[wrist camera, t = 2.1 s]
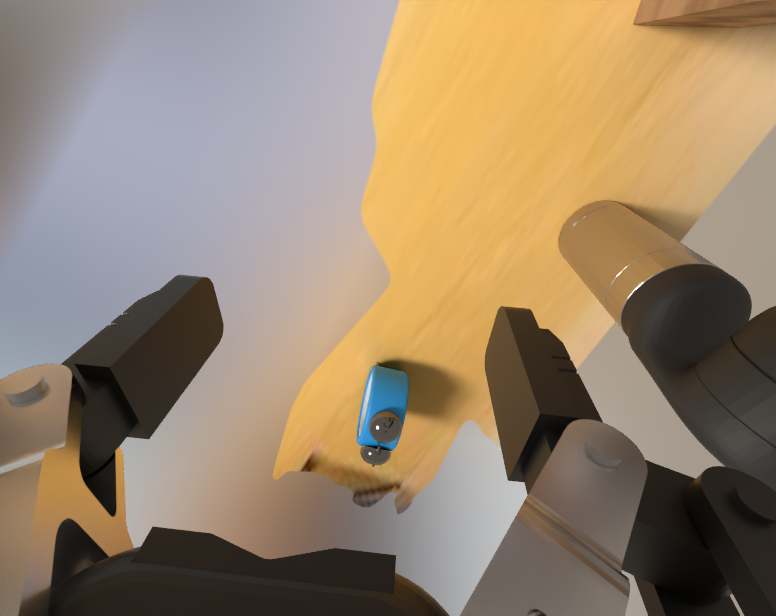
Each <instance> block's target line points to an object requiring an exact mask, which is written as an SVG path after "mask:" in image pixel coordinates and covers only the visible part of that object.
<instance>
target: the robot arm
mask: <svg viewBox="0 0 776 616" xmlns="http://www.w3.org/2000/svg"><path fill="white" fill-rule="evenodd" d="M559 249H560V252H561V254H562V255H563V257H564V258H565V259H566V261H567V262H568V263H569V264H570V266H571V267H572V268H573V269H574V271H575V272H576V273H577V274H578V276H579V277H580V278H581V279H582V281H583V282H584V283H585V284H586V286H587V287H588V288H589V289H590V290H591V292H592V293H593V294H594V295H595V297H596V298H597V299H598V300H599V302H600V303H601V304H602V305H603V307H604V308H605V309H606V310H607V311H608V313H609V314H610V315H611V316H612V318H613V319H614V320H615V321H616V322H617V323H618V325H619V326H620V327H621V328H622V330H623V331H624V332H625V334H626V335H627V336H628V337H629V342H630V345H631V348H632V350H633V351H634V352H635V354H636V355H637V357H638V358H639V360H640V361H641V362H642V364H643V365H644V366H645V368H646V369H647V371H648V372H649V374H650V375H651V377H652V378H653V380H654V381H655V383H656V384H657V386H658V387H659V388H660V390H661V392H662V393H663V395H664V396H665V397H666V399H667V401H668V402H669V404H670V405H671V406H672V408H673V409H674V411H675V412H676V414H677V415H678V416H679V418H680V419H681V420H682V422H683V423H684V424H685V426H686V427H687V428H688V429H689V430H690V431H691V433H692V434H693V435H694V436H695V437H696V438H697V440H698V441H699V442H700V443H701V444H702V445H703V446H704V447H705V448H706V449H707V450H708V451H709V452H710V453H711V454H712V455H713V456H714V457H715V458H716V459H718V460H719V461H720V462H721V463H722V464H723V465H724V466H725V467H722V466H716V467H711V468H708V469H706V470H705V471H704V472H703V473H702V474H701V475H700V476H698V478H696V479H695V478H692V477H689V476H687V475H684V474H681V473H679V472H676V471H673V470H670V469H668V468H665V467H662V466H660V465H657V464H654V463H652V462H649V461H647V460H645V459H644V457H643V455H642V453H641V452H640V450H639V449H638V447H637V446H636V445H635V444H634V443H633V442H632V441H631V440H630V439H629V438H628V437H627V436H625V435H624V434H623V433H621V432H620V431H618V430H617V429H615V428H614V427H611V426H609V425H607V424H605V423H603V421H602V419H601V417H600V416H599V413H598V411H597V410H596V408H595V406H594V404H593V402H592V400H591V398H590V396H589V394H588V392H587V390H586V388H585V386H584V384H583V382H582V380H581V378H580V376H579V374H577V373H576V371H577V370H576V368H575V366H574V364H573V362H572V361H570V356H569V354H568V352H567V350H566V348H565V346H564V344H563V343H562V342H561V341H560V340H559V339H558V338H557V337H556V336H555V335H554V334H553V333H552V332H551V331H550V330H549V329H540V328H539V326H538V324H537V322H536V320H535V317H534V315H533V313H532V311H531V310H530V309H525V308H514V307H504V306H501V307H500V308H499V310H498V312H497V315H496V318H495V322H494V325H493V329H492V332H491V335H490V339H489V342H488V346H487V349H486V354H485V371H486V376H487V381H488V386H489V391H490V396H491V401H492V406H493V410H494V415H495V420H496V425H497V430H498V435H499V439H500V444H501V449H502V454H503V459H504V464H505V469H506V473H507V478H508V480H509V481H518V482H525V486H526V490H527V494H528V496H527V498H526V499H525V501H524V503H523V505H522V506H521V508H520V510H519V512H518V514H517V515H516V517H515V519H514V521H513V522H512V524H511V526H510V528H509V529H508V531H507V533H506V535H505V537H504V538H503V540H502V542H501V544H500V545H499V547H498V549H497V551H496V552H495V554H494V556H493V558H492V560H491V561H490V563H489V565H488V567H487V568H486V570H485V572H484V574H483V576H482V577H481V579H480V581H479V583H478V584H477V586H476V588H475V590H474V591H473V593H472V595H471V597H470V598H469V600H468V602H467V604H466V606H465V608H464V609H463V611H462V613H461V615H460V616H625V611H626V608H627V603H628V598H629V592H630V583H629V579H628V578H627V577H626V576H625V575H623V574H622V572H621V570H624V571H626V572H628V573H630V574H632V575H634V577H635V580H636V583H637V586H638V588H639V591H640V594H641V597H642V599H643V602H644V605H645V608H646V610H647V613H648V616H740V614H739V612H738V611H737V609H736V607H735V605H734V603H733V601H732V599H731V597H730V595H731V594H733V595H734V597H735V599H736V601H737V602H738V604H739V606H740V608H741V610H742V612H743V614H744V615H745V616H776V306H775V307H772V308H769V309H767V310H765V311H764V312H762V313H760V314H759V315H757V316H755V317H754V318H752V319H751V320H750V321H749V318H750V314H751V308H752V304H751V298H750V295H749V293H748V291H747V289H746V288H745V287H744V286H743V284H741V283H740V282H739V281H737V279H735V278H734V277H732V276H731V275H729V274H728V273H726V272H725V271H723V270H722V269H720V268H718V267H717V266H716V265H714V264H712V263H711V262H709V261H708V260H706V259H705V258H703V257H702V256H700V255H699V254H697V253H695V252H694V251H692V250H691V249H689V248H687V247H686V246H685V245H683V244H681V243H680V242H678V241H677V240H675V239H674V238H672V237H671V236H669V235H668V234H666V233H665V232H663V231H662V230H660V229H658V228H657V227H655V226H654V225H652V224H651V223H649V222H648V221H646V220H645V219H643V218H642V217H640V216H639V215H637V214H636V213H634V212H632V211H631V210H629V209H628V208H626V207H625V206H623V205H622V204H620V203H617V202H614V201H599V202H595V203H592V204H589V205H587V206H585V207H583V208H581V209H580V210H578V211H577V212H575V213H574V214H573V215H572V216H571V217H570V218H569V219H568V220H567V222H566V223H565V224H564V226H563V228H562V230H561V232H560V236H559ZM222 335H223V321H222V317H221V313H220V309H219V305H218V301H217V297H216V293H215V290H214V286H213V283H212V281H211V280H210V279H209V278H207V277H197V276H186V275H178V276H176V277H174V278H173V279H172V280H171V281H169V282H168V283H167V284H166V285H165V286H164V287H162V288H161V289H160V290H159V291H156V292H154V293H152V294H150V295H148V296H146V297H144V298H142V299H140V300H138V301H137V302H135V303H134V304H133V305H132V306H131V307H129V308H128V309H127V310H126V311H125V312H123V315H120V316H119V317H117V318H116V319H115V320H114V321H112V322H111V326H106V327H105V328H104V329H103V330H102V331H100V332H99V333H98V334H97V335H96V336H94V337H93V338H92V339H91V340H90V341H88V342H87V343H86V344H85V345H84V346H83V347H81V348H80V349H79V350H78V351H76V352H75V353H74V354H73V355H71V356H70V357H69V358H68V359H67V360H65V361H64V362H63V363H62V364H42V365H36V366H32V367H29V368H25V369H22V370H20V371H17V372H15V373H13V374H10V375H8V376H6V377H4V378H2V379H1V380H0V616H449V615H448V613H447V612H446V611H445V610H444V609H443V608H442V607H441V606H440V604H439V603H438V602H437V601H436V600H435V599H434V598H433V597H432V596H430V595H429V594H428V593H427V592H426V591H424V590H423V589H422V588H421V587H419V586H418V585H416V584H415V583H413V582H411V581H410V580H408V579H407V578H405V577H403V576H401V575H399V574H396V573H395V563H396V555H388V554H379V553H371V552H362V551H353V550H346V549H337V548H334V549H328V550H323V551H317V552H311V553H306V554H301V555H295V556H289V557H284V558H278V559H264V558H261V557H259V556H257V555H255V554H253V553H251V552H249V551H246V550H244V549H242V548H240V547H238V546H236V545H234V544H232V543H230V542H228V541H226V540H224V539H222V538H220V537H217V536H215V535H213V534H210V533H202V532H193V531H185V530H176V529H167V528H160V527H152V529H151V531H150V532H149V534H148V536H147V537H146V539H145V541H144V543H143V544H142V546H141V547H137V548H133V544H132V541H131V539H130V537H129V534H128V530H127V525H126V510H125V485H124V459H123V452H122V450H121V448H120V445H121V444H122V442H123V441H124V440H125V438H126V437H134V438H143V439H149V438H150V437H151V436H152V434H153V433H154V432H155V430H156V429H157V428H158V426H159V424H160V423H161V422H162V421H163V419H164V418H165V417H166V415H167V414H168V412H169V411H170V410H171V408H172V407H173V406H174V404H175V403H176V401H177V400H178V399H179V397H180V395H181V394H182V393H183V392H184V390H185V389H186V388H187V386H188V385H189V384H190V382H191V381H192V379H193V378H194V377H195V375H196V374H197V373H198V371H199V370H200V369H201V367H202V366H203V365H204V363H205V361H206V360H207V359H208V358H209V356H210V355H211V354H212V352H213V351H214V349H215V348H216V347H217V345H218V344H219V342H220V340H221V338H222Z"/></svg>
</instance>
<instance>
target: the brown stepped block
mask: <svg viewBox="0 0 776 616" xmlns="http://www.w3.org/2000/svg"><path fill="white" fill-rule="evenodd" d="M773 23H776V0H641V3H640V6H639V9H638V12H637V15H636V18H635V21H634V24H638V25H668V26H699V27H729V28H739V27H747V26H756V25H764V24H773Z"/></svg>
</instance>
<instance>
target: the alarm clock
mask: <svg viewBox="0 0 776 616" xmlns="http://www.w3.org/2000/svg"><path fill="white" fill-rule="evenodd" d="M408 390H409V381H408V376H407V373H406V372H404V371H400V370H395V369H390V368H385V367H381V366H378V362H377V364H376V366H373V367H372V368H371V371H370V373H369V376H368V380H367V383H366V387H365V391H364V396H363V400H362V405H361V410H360V416H359V422H358V428H357V444H358V445H360V446H366V447H361V450H360V453H361V456H362V458H363V459H364V460H365V461H366V462H367V463H369V464H372V467H374V465H382V464H384V463H386V462H387V461H388V460H389V458H390V456H391V452H389V451H392V450H394V448H395V447H396V445H397V443H398V441H399V438H400V435H401V432H402V428H403V424H404V420H405V414H406V409H407V401H408ZM368 447H371V448H368ZM385 450H387V451H385Z"/></svg>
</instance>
